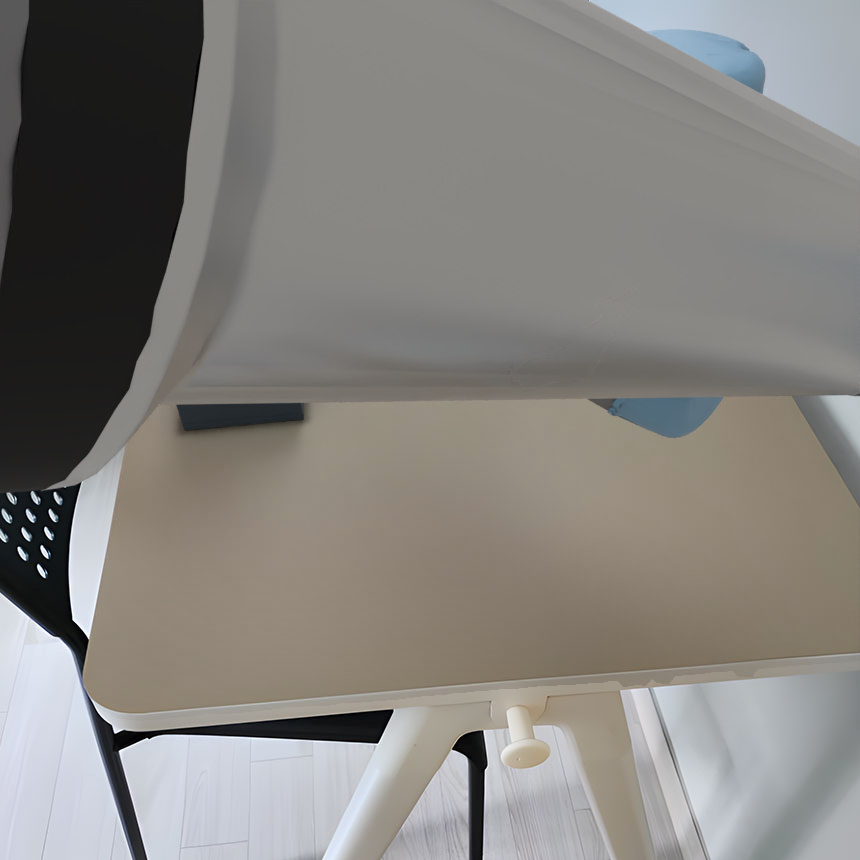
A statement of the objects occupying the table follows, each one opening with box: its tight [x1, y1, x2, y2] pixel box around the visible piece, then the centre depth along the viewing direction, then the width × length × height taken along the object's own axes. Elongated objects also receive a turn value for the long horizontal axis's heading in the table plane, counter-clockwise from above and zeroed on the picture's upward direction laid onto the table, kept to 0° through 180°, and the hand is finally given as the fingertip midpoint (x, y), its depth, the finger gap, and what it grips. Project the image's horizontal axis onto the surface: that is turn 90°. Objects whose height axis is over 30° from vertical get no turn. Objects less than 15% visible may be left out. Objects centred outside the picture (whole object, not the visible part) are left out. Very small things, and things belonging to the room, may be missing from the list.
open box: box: [176, 403, 305, 431], centre depth 83 cm, size 13×11×4 cm
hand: (269, 169), depth 61 cm, fingers open, 13 cm apart
